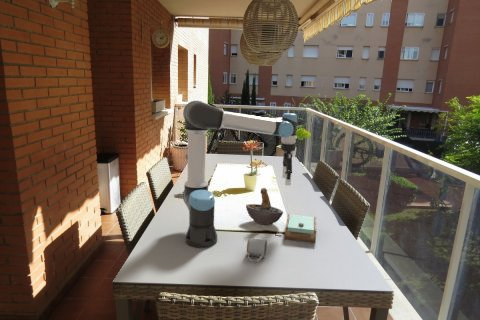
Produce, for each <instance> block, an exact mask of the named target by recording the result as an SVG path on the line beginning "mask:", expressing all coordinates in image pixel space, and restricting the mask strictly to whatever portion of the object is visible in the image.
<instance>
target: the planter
mask: <svg viewBox="0 0 480 320" xmlns="http://www.w3.org/2000/svg"><path fill="white" fill-rule="evenodd" d="M260 194H261V199H262V200H261V203H260V204H259V203H258V204H255V203H253V204H252V203H249V204H246V205H245V209H246V211H247V213H248V216H249V217H250V218H251V219H252V220H253V222H255V223H258V224H260V225H266V224H270V225H273V224H274V223H277V222H278V221H279V220H280V218H282V216H283V214H284V211H283V210H282V209H279V208H277V207H274V206H272V204H271V200H270V196H269V193H268V189H267V188H266V187H263V188H262V187H261V189H260Z"/></svg>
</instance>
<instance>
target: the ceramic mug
mask: <svg viewBox="0 0 480 320" xmlns="http://www.w3.org/2000/svg"><path fill="white" fill-rule="evenodd" d="M267 251H268V241H267V239H264V238H261V239H260V238H250V239H248V240H247V243H246V253H247V257H248V260H249V261H250V262H251V263H258V262H261V260H262V258H263V259H264V258H266V257H267ZM250 256H251V257H256V259H252V258H251V257H250Z"/></svg>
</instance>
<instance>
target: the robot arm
mask: <svg viewBox="0 0 480 320" xmlns="http://www.w3.org/2000/svg"><path fill="white" fill-rule="evenodd" d="M182 113H183V114H182V116H183V118H184V131H186V133H187V180H186V181H185V182H184V185H183V186H184V187H183V188H184V189H183V191H182V199H183V202H184V204H185V205H186V208H187V210H188V216H189V217H188V220H189V221H188V223H189V225H188V228H187V231H186V232H185V233H186V234H185V238H184V239H185V243H186V244H187V245H188V246H190V247H193V248H208V247H211V246H215V244H217V243H218V233H217V230H216V227H215V203H216V200H215V195H214V193H213V192H211V191H209V183H208V182H207V181H206V145H207V144H206V143H207V142H206V140H207V139H206V138H207V137H206V136H207V133H208V131H210V130H211V129H212V130H221V129H229V130H235V131H243V132H250V133H258V134H263V135H264V134H265V135H271V136H277V137H280V139H281V143H280V150H281V151H283V157H282V175H281V176H282V179H285V186H291V184H292V183H291V182H292V174H293V154H292V152H295V151H296V147H297V145H296V140H297V139H298V136H297V127H298V126H297V125H298V115H297V114H296V113H289V112H287V113H283V114H282V116H281V117H263V116H256V115H250V114H246V113H239V112H232V111H227V110H224V109H223V108H222V107H217V106H213V105H212V104H211V105H210V104H208V103H205V102H203V101H201V100H192V101H190V102H188V103H186V105H185V106H184V108H183V112H182Z"/></svg>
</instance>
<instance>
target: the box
mask: <svg viewBox="0 0 480 320" xmlns="http://www.w3.org/2000/svg"><path fill="white" fill-rule="evenodd" d="M289 217H290V213H287V216H286V223H285V226H284V227H285V229H284V240H289V241H296V242H298V241H299V242H304V243H312V244H313V243H314V244H316V239H317V217H316V216H313V217H314V234H309V233H301V232H292V231H288V223H289Z"/></svg>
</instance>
